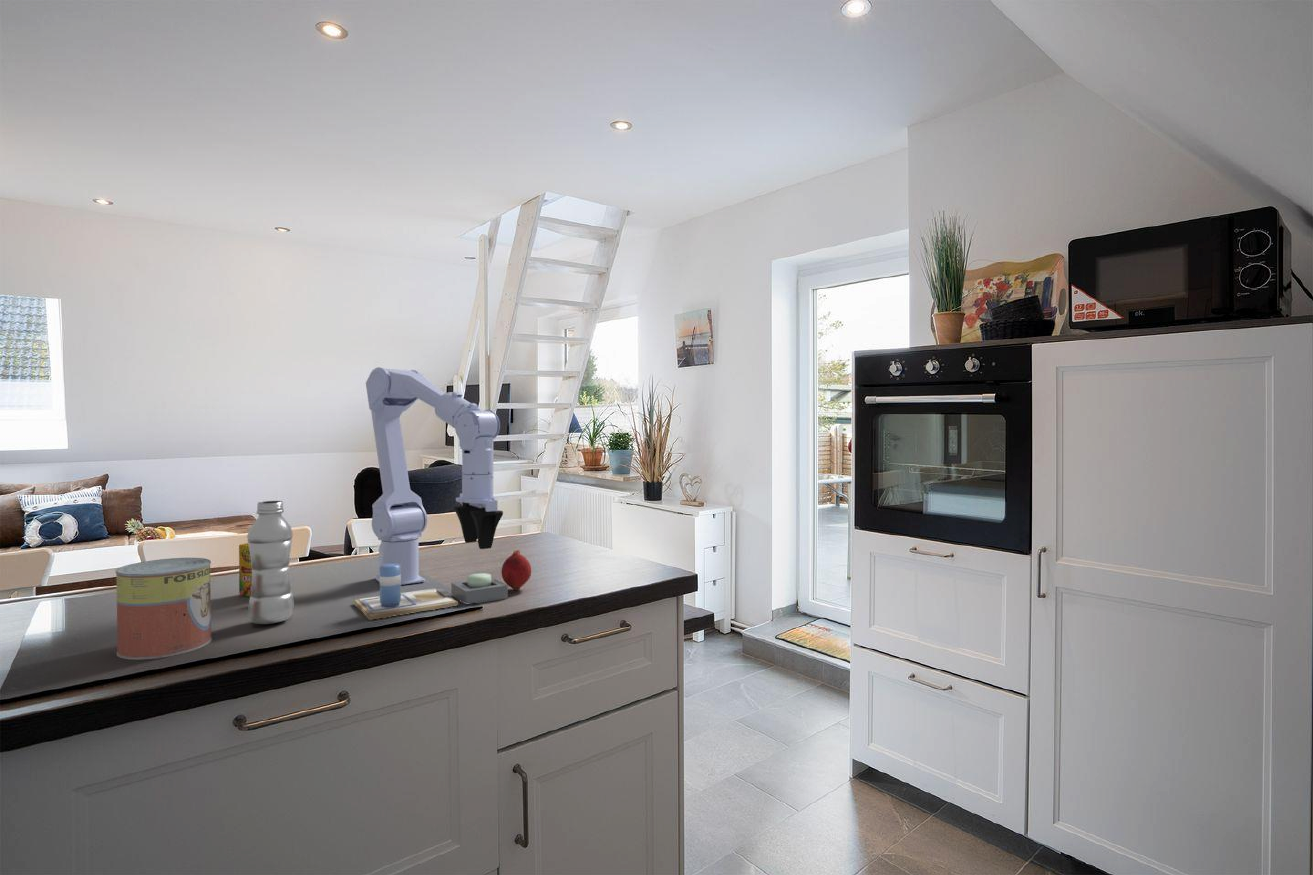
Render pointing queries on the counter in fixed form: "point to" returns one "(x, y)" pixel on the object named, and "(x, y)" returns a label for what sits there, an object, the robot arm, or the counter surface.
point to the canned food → (163, 608)
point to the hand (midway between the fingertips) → (477, 545)
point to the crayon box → (245, 570)
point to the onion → (516, 570)
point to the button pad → (479, 592)
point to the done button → (478, 580)
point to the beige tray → (406, 603)
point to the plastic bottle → (270, 565)
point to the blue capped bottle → (390, 585)
